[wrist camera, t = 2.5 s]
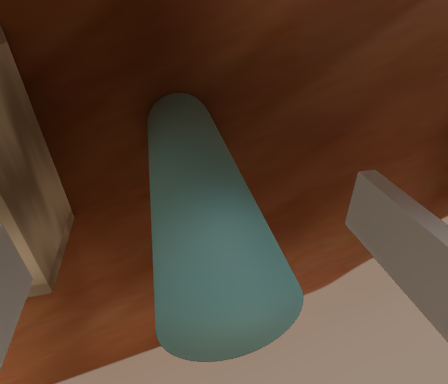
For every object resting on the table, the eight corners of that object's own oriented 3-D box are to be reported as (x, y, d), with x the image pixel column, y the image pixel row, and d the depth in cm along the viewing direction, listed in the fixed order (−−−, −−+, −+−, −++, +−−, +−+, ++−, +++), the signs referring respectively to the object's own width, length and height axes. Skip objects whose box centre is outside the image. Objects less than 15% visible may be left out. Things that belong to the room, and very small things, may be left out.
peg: (142, 95, 18) (142, 285, 7) (208, 90, 19) (313, 253, 7) (152, 156, 20) (166, 374, 9) (211, 149, 21) (294, 343, 10)
